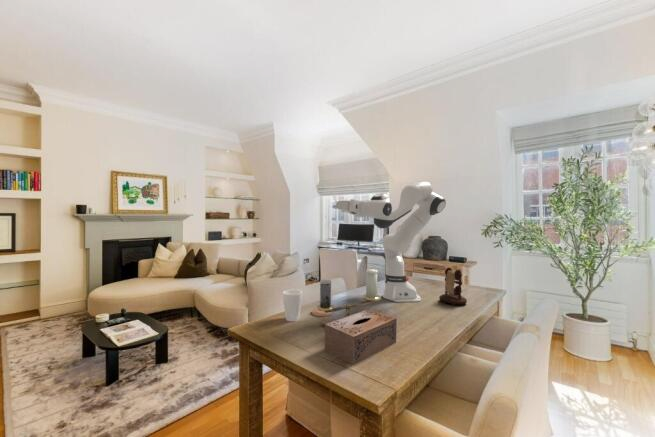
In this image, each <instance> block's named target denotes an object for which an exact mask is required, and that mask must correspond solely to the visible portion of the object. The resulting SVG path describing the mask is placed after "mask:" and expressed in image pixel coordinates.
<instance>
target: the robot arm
mask: <svg viewBox="0 0 655 437" xmlns="http://www.w3.org/2000/svg"><path fill="white" fill-rule="evenodd" d="M399 198H400V199H399V204H398V207H397V209H395V210H393V206H392V202H391V197H390V195H388V194H386V193H375V194H373V196H371V198H370V200H364V199H363V200H361V199H359V200H357V199H355V198H354V199H353V198H352V199H351V198H350V199H349V200H338V201H336V202H335V204H333V205H332V209H336V210H340V211H341V212H343V213H347V214H350V215H351V216H355V217H356V218H368V217H369V218H371V219H373V224H374V225H375V227H377V228H378V229H388V228H389V227H391V226H392V225H393V224H394V223H395V222H397V221H399V220H400V219H401V218H403V217H405V216H406V215H409V213H410V212H412V210H413V208H414V207H415V206H416V205H417V206H418V208H416V209H415V210H414V211H413V212H412V213H411V214H410V215H409V216H408V217H407V218H406V219H405V220H404V221H403V222H402V223H401V226H400V228H399V229H398V231H397V232H395V233H389V234H386V235H384V236H383V237H382V240H381V244H382V246H383V250H384V258H385V274H384V289H383V290H384V291H383V294H382V297H383V298H384V299H386V300H389V301H392V302H395V303H396V302H397V303H401V302H402V303H403V302H405V303H406V302H409V303H411V302H421V301H422V298H421V296H420V295H419V294H418V292H417V289H416V287H415V286H414V285H412V284H411V283H410V282H409V280H410V277H408V276H407V275H405V261H404V258H403V255H402V254H406V253H408V252H409V251H410V250H411V244H412V242H413V240H414V239H415V237H416V236H417V235H418V234H419V233H420V232H421V231H422V230H423V229H424V228H425V227H426V225H427V224H428V223H429V222H430V220H431V219H432V217H433V216H435V215H437V214H439V213H441V212H442V211H443V210H444V209H445V207H446V199H445V198H444V197H443V196H441V195H439V194H437V193H436V192H434V191H433V186H432V184H431V183H430V182H428V181H417V182H413V183H410V184H407V185H406V186H404V188H402V189H401V193H400V197H399ZM392 210H393V211H392Z"/></svg>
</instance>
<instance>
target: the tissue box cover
mask: <svg viewBox="0 0 655 437" xmlns="http://www.w3.org/2000/svg"><path fill="white" fill-rule="evenodd" d="M397 320H398V319H397V318H396V317H393V316H391V315H388V314H385V313H382V312H378V311H376V310H375V311H374V310H373V309H368V308H367V309H365V310H362V311H359V312H357V313H353V314H350V316H347V317H346V316H344V317H342V318H340V319H336V321H333V322H330V323H327V324H325V326H324V351H325V352H328V353H330V354H332V355H333V356H335V357H337V358H338V359H339V358H340V360H343V361H345V362H347V363H349V364H351V365H352V366H355V365H357V364H358V363H360V362H362V361H364V360H366V359H368V358H370V357H372V356H373V355H376V354H377V353H379V352H382V351H383V350H384V349H386V348H389V347H390V346H392V345H394V344H396V343H397Z"/></svg>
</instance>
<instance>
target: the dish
mask: <svg viewBox="0 0 655 437" xmlns="http://www.w3.org/2000/svg"><path fill="white" fill-rule="evenodd" d="M311 314H312V315H313V316H315V317H321V318H322V317H328V316H331V315H332V312H328V313H325V312H324V311H319V310H317V307H315V308H313V309H312V310H311Z"/></svg>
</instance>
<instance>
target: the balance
mask: <svg viewBox="0 0 655 437" xmlns="http://www.w3.org/2000/svg"><path fill="white" fill-rule="evenodd" d="M362 299H363V300H364V301H361V302H355V303H351V304H350V303H346V304H345V305H342V306H337V307H335V306H334V305H332V304H331V307H330V308H327V309H324V308H320V304H318V305H317V306H316V308H317V310H319V311H324V312H325V313H328V312H331V313H333V312H336V311H342V310H345V317H347V316H350V315H351V308H355V307H361V306H366V305H370V304H372V303H373V302H377V301H380V300H381V295H378V294H377V298H368V297H366V294H363V295H362ZM336 320H337V319H335V318H334V319H333V318H323V319H322V320H321V323H320V324H321V325H320V327H325V324H327V323H330V322H333V321H336Z"/></svg>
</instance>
